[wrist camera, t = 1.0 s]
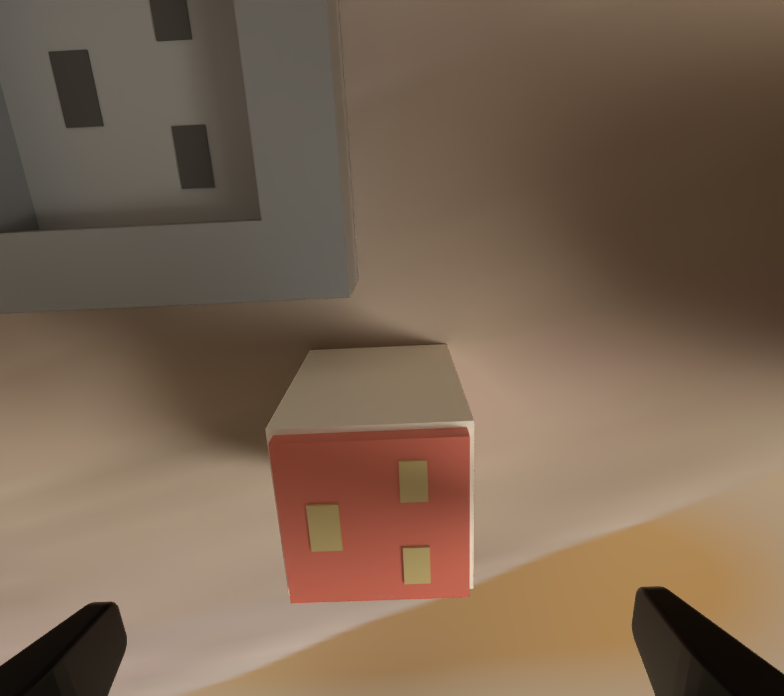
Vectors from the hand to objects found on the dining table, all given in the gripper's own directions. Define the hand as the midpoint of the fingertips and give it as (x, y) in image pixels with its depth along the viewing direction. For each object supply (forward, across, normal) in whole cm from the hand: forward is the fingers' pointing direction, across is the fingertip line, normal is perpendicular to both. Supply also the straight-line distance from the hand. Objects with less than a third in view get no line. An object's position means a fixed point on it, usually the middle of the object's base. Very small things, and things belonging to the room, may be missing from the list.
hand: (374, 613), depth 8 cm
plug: (+8, 0, 0) cm, 8 cm away
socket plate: (+8, +6, -10) cm, 14 cm away
